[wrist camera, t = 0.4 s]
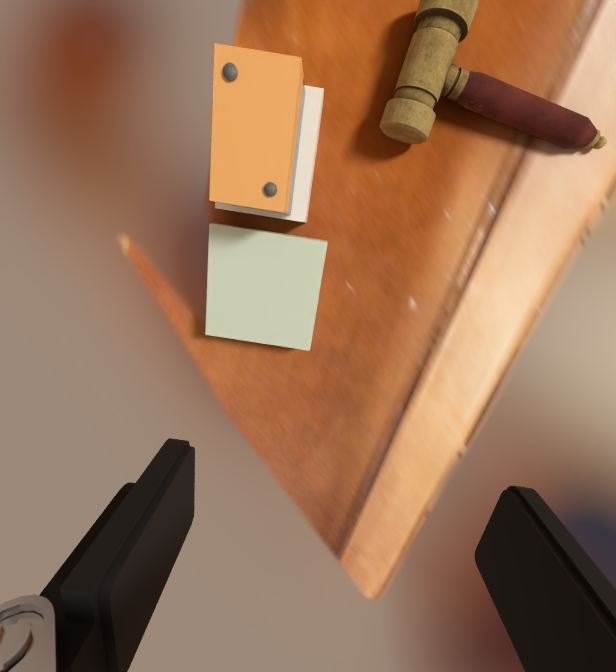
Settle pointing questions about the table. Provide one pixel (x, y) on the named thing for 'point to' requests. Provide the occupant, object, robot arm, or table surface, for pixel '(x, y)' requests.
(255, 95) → the housing cover
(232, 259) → the stand
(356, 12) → the table surface
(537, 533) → the robot arm
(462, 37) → the gavel
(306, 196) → the stand
